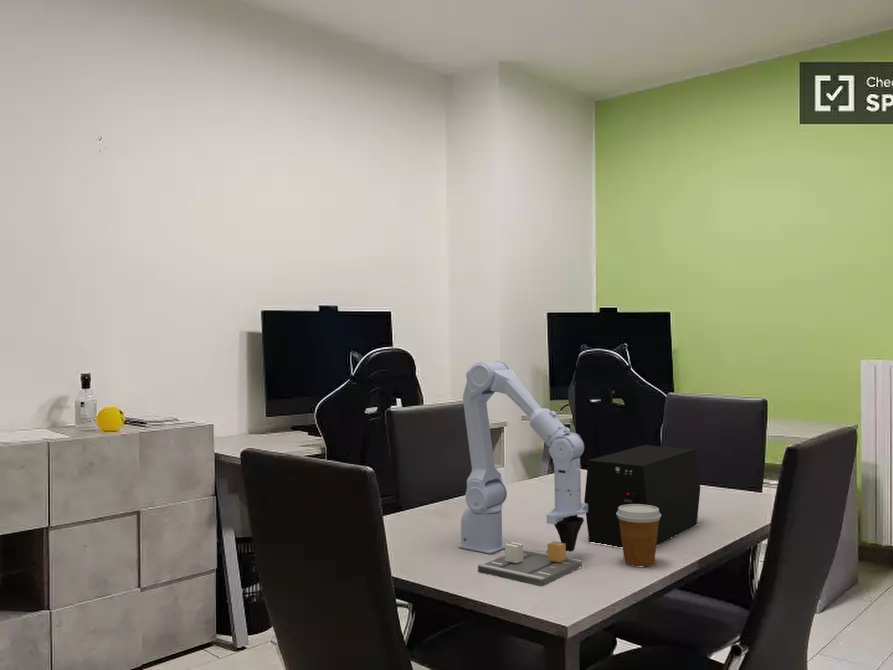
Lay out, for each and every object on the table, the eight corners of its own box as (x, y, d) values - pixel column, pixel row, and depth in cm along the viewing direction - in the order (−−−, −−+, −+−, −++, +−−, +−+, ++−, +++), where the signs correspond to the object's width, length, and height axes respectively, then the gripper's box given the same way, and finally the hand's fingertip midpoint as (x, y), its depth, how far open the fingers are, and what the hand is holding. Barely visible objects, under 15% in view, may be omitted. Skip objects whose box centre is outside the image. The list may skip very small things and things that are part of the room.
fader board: (478, 571, 164) (477, 564, 164) (520, 554, 176) (520, 548, 176) (542, 586, 154) (541, 578, 154) (582, 567, 166) (582, 560, 166)
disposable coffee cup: (608, 563, 168) (607, 508, 168) (632, 554, 175) (631, 501, 175) (647, 572, 161) (646, 515, 162) (670, 562, 168) (669, 507, 168)
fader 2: (547, 559, 166) (547, 543, 167) (553, 557, 168) (553, 540, 168) (559, 562, 165) (559, 545, 165) (565, 559, 166) (565, 543, 167)
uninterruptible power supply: (701, 525, 201) (699, 449, 201) (645, 555, 174) (644, 467, 175) (642, 517, 211) (640, 444, 211) (581, 544, 185) (580, 460, 185)
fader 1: (505, 560, 166) (504, 544, 166) (511, 558, 168) (511, 541, 168) (516, 563, 164) (516, 546, 164) (523, 560, 166) (522, 543, 166)
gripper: (566, 496, 162) (567, 561, 162) (599, 485, 173) (600, 546, 173) (538, 492, 167) (539, 555, 167) (572, 482, 178) (573, 541, 178)
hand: (568, 550), depth 170 cm, fingers closed
